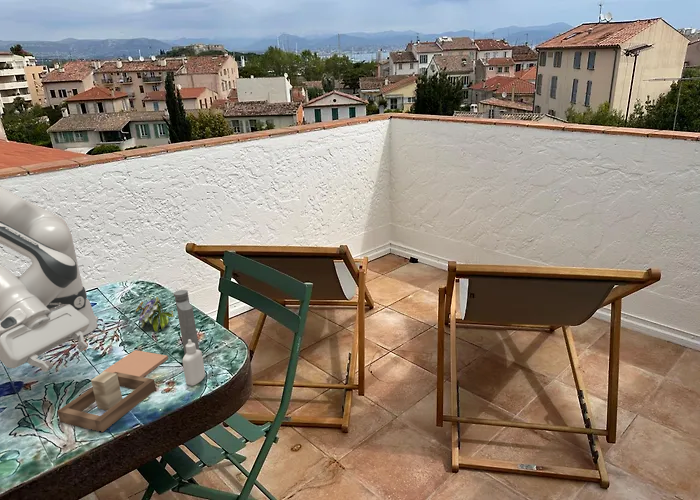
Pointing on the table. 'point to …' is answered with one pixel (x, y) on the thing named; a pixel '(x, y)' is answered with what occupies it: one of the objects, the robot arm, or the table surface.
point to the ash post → (106, 390)
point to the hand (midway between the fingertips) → (67, 358)
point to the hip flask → (186, 318)
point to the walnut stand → (101, 423)
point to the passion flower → (149, 312)
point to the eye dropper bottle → (193, 364)
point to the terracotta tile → (138, 363)
